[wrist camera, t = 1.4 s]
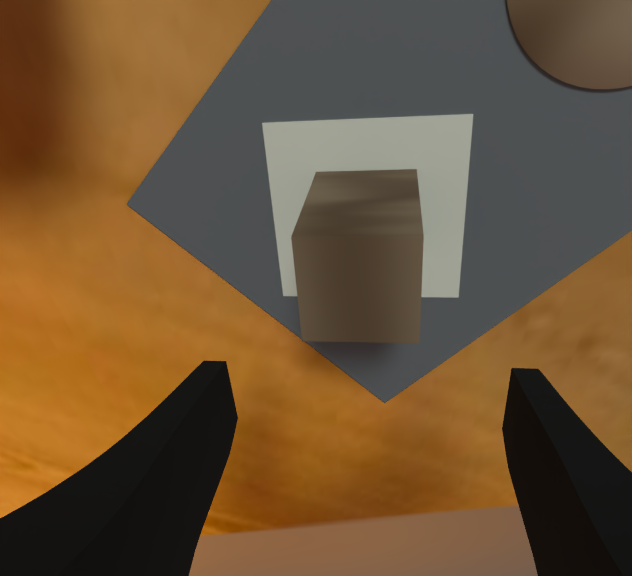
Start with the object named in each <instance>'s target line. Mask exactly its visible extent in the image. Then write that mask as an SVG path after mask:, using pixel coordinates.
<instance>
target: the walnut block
mask: <svg viewBox="0 0 632 576" xmlns="http://www.w3.org/2000/svg"><path fill="white" fill-rule="evenodd" d="M291 240H292V250H293V259H294V269H295V278H296V288H297V297H298V306H299V316H300V325H301V335H302V341H323V342H371V343H419V344H420V319H421V293H422V267H423V241H424V234H423V224H422V215H421V205H420V196H419V186H418V177H417V169H402V170H365V171H328V172H316V173H315V176H314V179H313V181H312V184H311V186H310V189H309V192H308V194H307V197H306V199H305V202H304V205H303V207H302V210H301V212H300V215H299V218H298V220H297V223H296V225H295V228H294V231H293V233H292V236H291Z"/></svg>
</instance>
